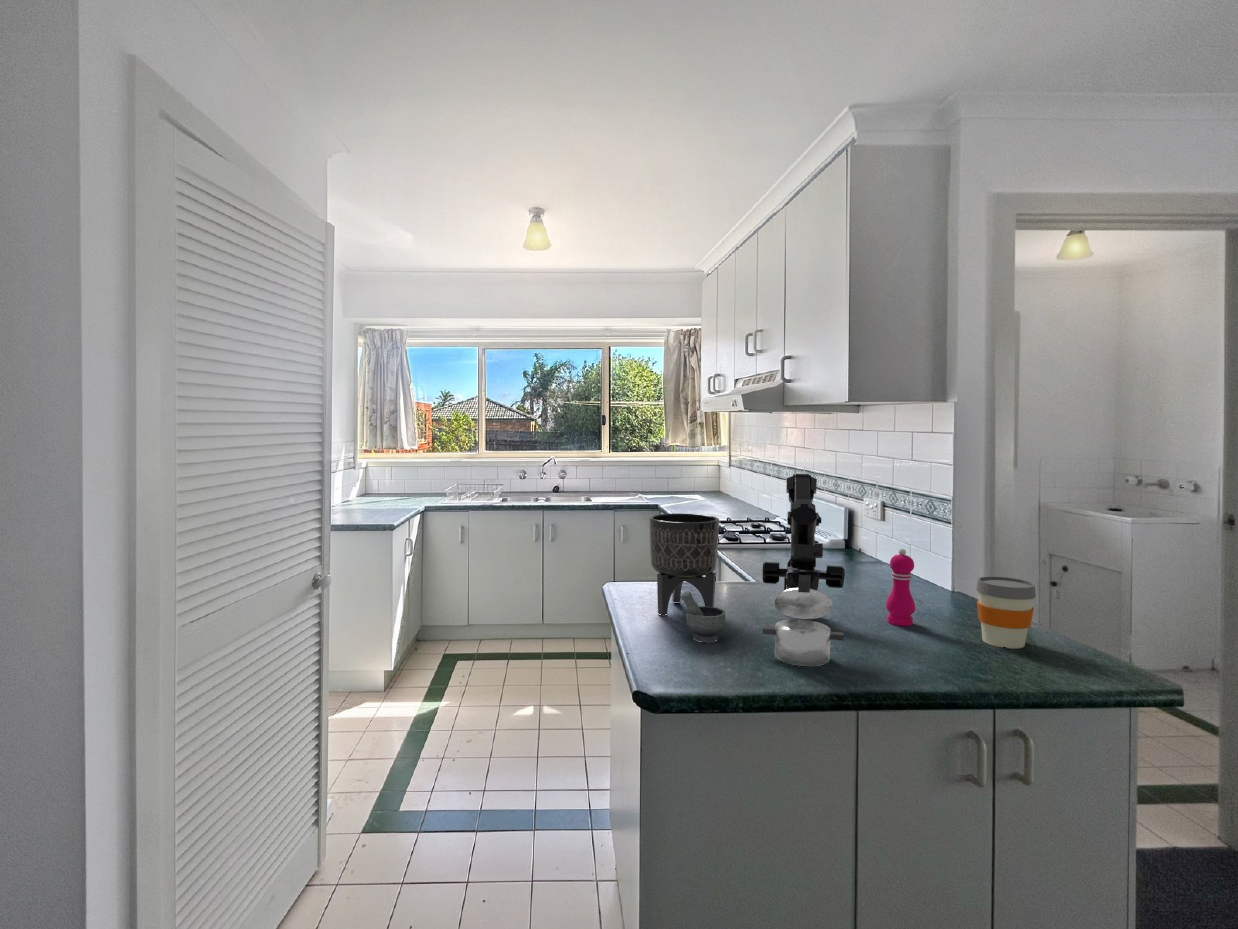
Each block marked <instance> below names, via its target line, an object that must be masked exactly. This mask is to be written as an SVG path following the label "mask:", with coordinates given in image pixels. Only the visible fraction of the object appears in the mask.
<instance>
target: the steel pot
mask: <svg viewBox="0 0 1238 929" xmlns="http://www.w3.org/2000/svg"><path fill="white" fill-rule="evenodd" d="M761 632H762V634H763V635H771V636H774V658H776V657H777V659H776V660H778V659H779V660H780V661H779V660H778V661H779V662H781V661H784V662H786V663H789V664H796V665H803V666H816V665H821V664H826V663H828V662H829V661H830V660H831V658H830V657H831V655H830V654H831V640H832V641H833V640H834V641H843V642H844V641H845V634H844V632H841V631H840V632H839V631H831V628H830V626H828V625H826V624H825V623H821V622H818V621H814V620H810V619H798V618H794V619H793V618H792V619H783V620H780V621H777V622H776V623H775V625H774V626H767V625H764V626H762V631H761ZM786 663H785V664H786ZM829 663H830V662H829ZM829 663H828V664H829ZM789 664H788V665H789ZM826 665H827V664H826Z"/></svg>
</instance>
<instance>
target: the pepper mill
mask: <svg viewBox="0 0 1238 929" xmlns="http://www.w3.org/2000/svg"><path fill="white" fill-rule="evenodd" d="M889 566H890V569H891V570H892V572H891V578H892V580H893V582H892V583H893V584H892V589H891V591H890V592H889V593H890V594H889V595H888V597H887V599H886V603H885V608H886V610H887V611H888V614H887V618H886V619H887V623H888V624H890V625H893V626H898V627H899V626H900V627H910V626H912V625H913V624H914V618H913V617H912V615H913V614H914V613H915V611H916V605H915V604H916V603H915V600H914V598H913V596H912V594H911V591H910V589H911V588H910V583H911V580H912V576H913V574H912V571H913V570H914V569H915V562H914V559H913V558H912V557H911V556H910V555H907V551H906V549H904V548H901V549H899V550H898V554H895V555H893V556H891V558H890V561H889Z"/></svg>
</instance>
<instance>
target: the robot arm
mask: <svg viewBox="0 0 1238 929" xmlns="http://www.w3.org/2000/svg"><path fill="white" fill-rule="evenodd" d="M817 483H818V482H817V478H816V477H813V476H812V474H809V473H795V474H792V476H789V477H786V486H785V487H786V488H785V489H786V491H785V492H786V494H788V502H789V503H790V511H787V519H786V520H787V522H786V524H787V526H789V529H790V530H791V533H790V559H789V560H788V562H787V564H786V565H787V566H786V568H781V567H780V562H779V561H778V562H777V561H776V562H775V561H765V562H763V563H762V582H763V583H764V584H771V585H773V584H774V585H776V584H778V583H779V582H780V578H783V579H784V580H783V591H784V590H787V589H792V588H798V585H799V575H811V583H810V589H814V590H817V591H818V588H819V582H820V580H825V586H827V587H828V588H830V589H831V588H832V589H833V588H835V589H843V588H844V582H845V576H846V574H845V572H846V570H845V568H844V567H843V566H842V565H830V564H829V565H828V564H827V565H826V570H818V569H816V567H817V565H816V564H817V559H823V556H824V548H823V547H824V546H823V544H824V543H816V540H815V538H816V537H815V534H816V529H817V527H819V526H820V524H822V517H821V516H820V514H819V512H817V510H816V509H817V508H816V505H815V504H814V503H813V502H814V497H815V496H814V495H816V494H817V488H818V487H817Z"/></svg>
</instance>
